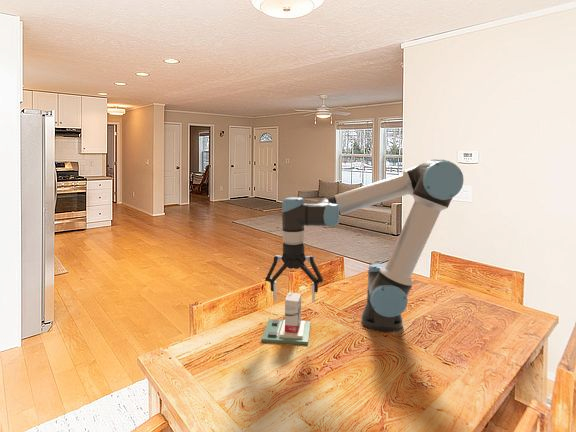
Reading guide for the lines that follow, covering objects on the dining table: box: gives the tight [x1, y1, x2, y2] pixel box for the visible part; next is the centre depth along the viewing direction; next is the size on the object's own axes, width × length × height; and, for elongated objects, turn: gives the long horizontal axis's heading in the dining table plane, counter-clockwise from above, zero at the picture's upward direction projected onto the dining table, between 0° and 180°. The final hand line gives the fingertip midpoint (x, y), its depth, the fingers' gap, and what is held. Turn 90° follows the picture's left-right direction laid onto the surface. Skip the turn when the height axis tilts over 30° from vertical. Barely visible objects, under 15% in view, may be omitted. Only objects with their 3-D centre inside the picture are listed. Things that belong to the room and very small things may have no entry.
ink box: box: [284, 291, 302, 333], centre depth 136 cm, size 9×5×12 cm, turn 170°
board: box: [260, 318, 311, 346], centre depth 138 cm, size 16×16×2 cm
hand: (294, 300), depth 136 cm, fingers open, 13 cm apart
